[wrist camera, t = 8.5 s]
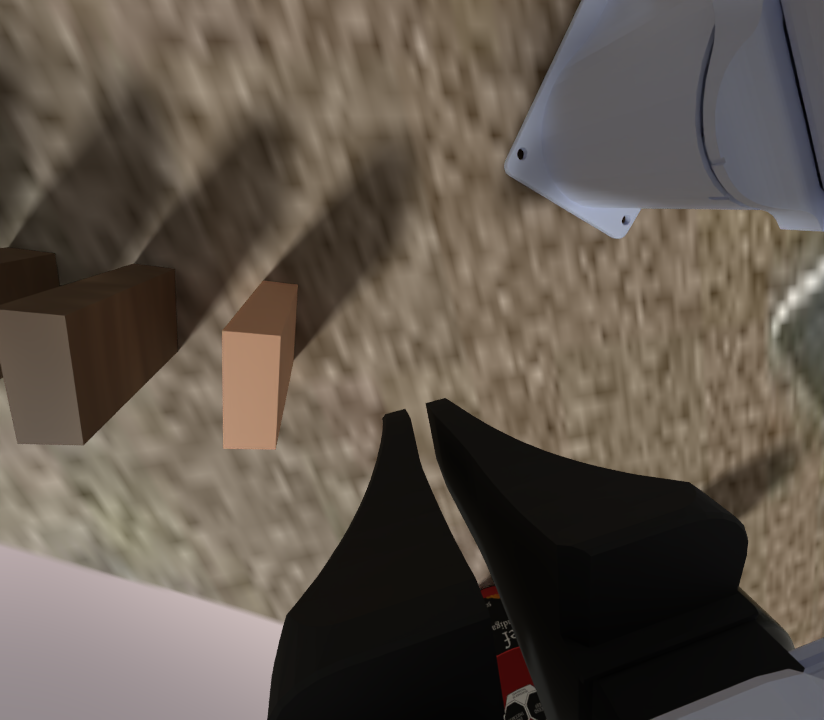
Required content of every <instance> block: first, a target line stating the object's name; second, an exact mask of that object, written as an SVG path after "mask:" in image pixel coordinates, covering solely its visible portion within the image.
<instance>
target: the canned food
mask: <svg viewBox="0 0 824 720" xmlns="http://www.w3.org/2000/svg"><path fill="white" fill-rule="evenodd" d="M480 591H481V593H482V596H483V598H484V601H485V603H486V606H487V608H488V611H489V614H490V618H491V624H492V631H493V637H494V644H495V650H496V657H497V663H498V670H499V676H500V683H501V689H502V696H503V702H504V709H505V715H504V720H547V719H546V716H545V713H544V710H543V708H542V705H541V702H540V700H539V697H538V694H537V692H536V689H535V686H534V684H533V681H532V678H531V676H530V673H529V671H528V668H527V665H526V663H525V660H524V658H523V655H522V652H521V650H520V647H519V644H518V642H517V639H516V637H515V634H514V632H513V629H512V627H511V624H510V622H509V619H508V616H507V614H506V611H505V609H504V606H503V604H502V601H501V599H500V596H499V594H498V591H497V589H496V586H492V587H488V588H485V589H482V590H480Z"/></svg>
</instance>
